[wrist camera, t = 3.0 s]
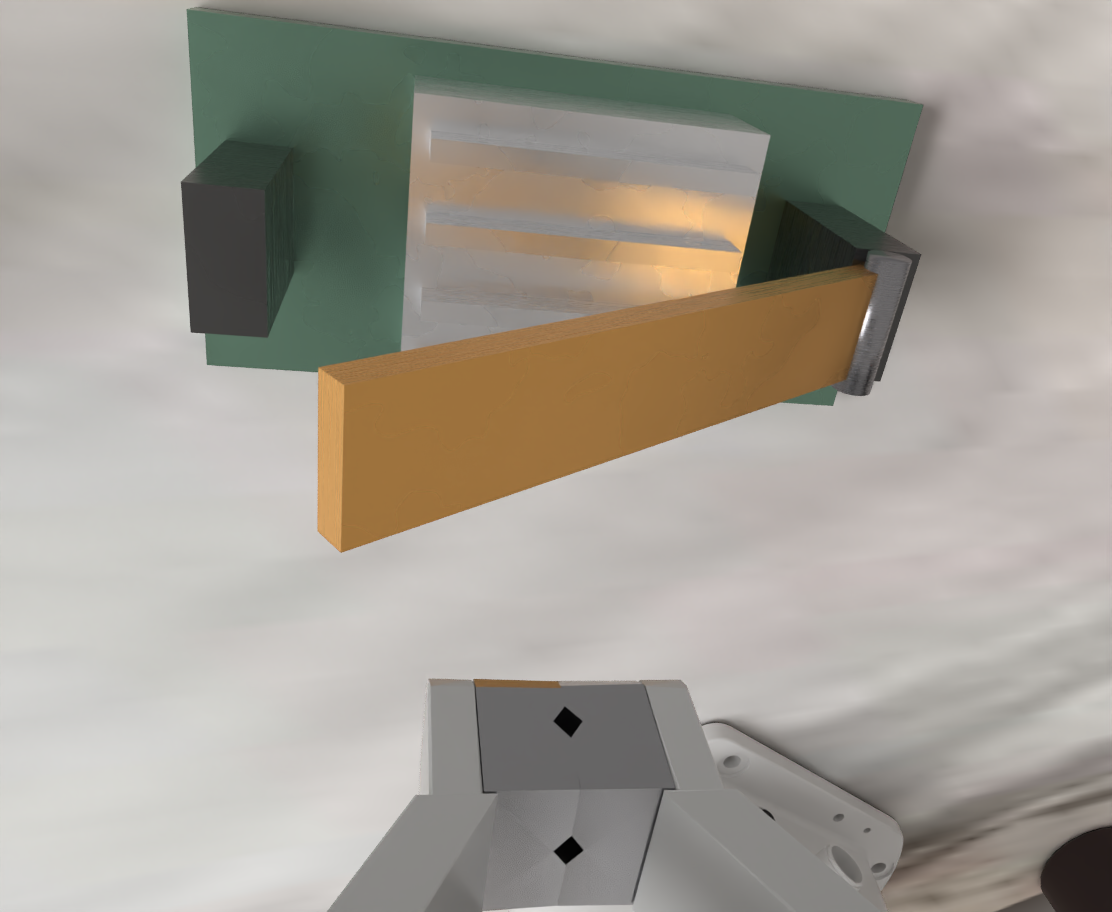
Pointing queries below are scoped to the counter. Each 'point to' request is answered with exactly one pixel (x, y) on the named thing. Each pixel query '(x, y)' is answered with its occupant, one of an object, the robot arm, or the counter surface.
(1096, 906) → the bottle
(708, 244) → the heatsink mount
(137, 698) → the counter surface
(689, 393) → the strap
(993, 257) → the counter surface
